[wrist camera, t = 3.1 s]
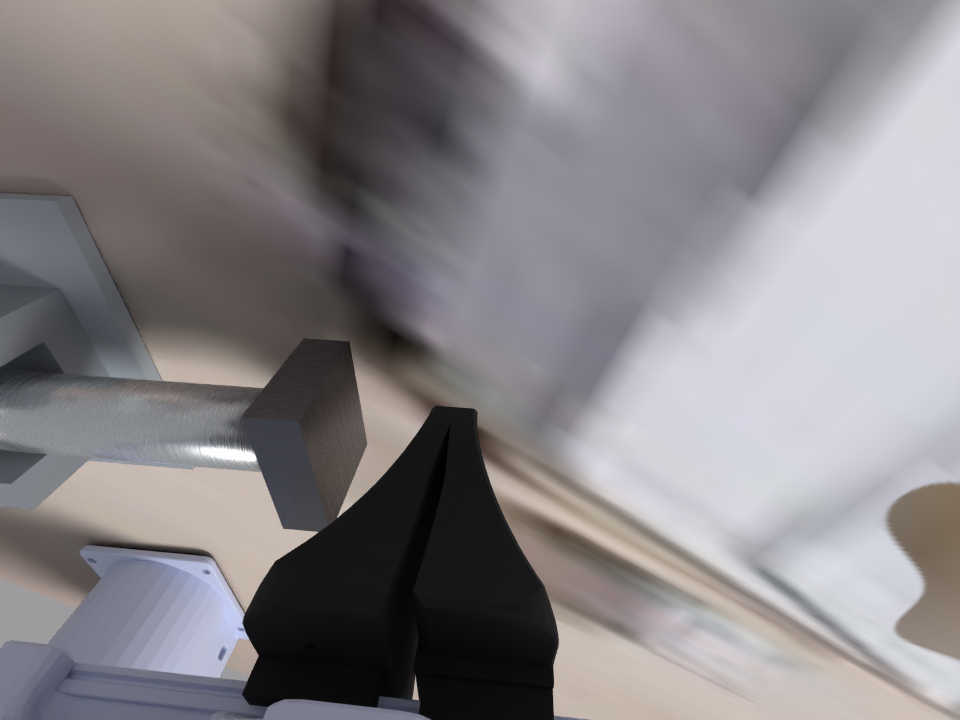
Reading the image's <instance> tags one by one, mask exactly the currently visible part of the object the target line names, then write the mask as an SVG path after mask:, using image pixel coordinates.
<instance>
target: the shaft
mask: <svg viewBox="0 0 960 720" xmlns="http://www.w3.org/2000/svg"><path fill="white" fill-rule="evenodd" d="M366 446H367V440H366V434H365V429H364V423H363V417H362V411H361V406H360V400H359V394H358V388H357V383H356V377H355V371H354V365H353V360H352V354H351V348H350V342H349V341H334V340H319V339H303V340H302V342H301V343H300V344H299V345H298V346H297V348H296V349H295V350H294V351H293V353H292V354H291V355H290V356H289V358H288V359H287V360H286V361H285V363H284V364H283V365H282V366H281V368H280V369H279V370H278V371H277V373H276V374H275V375H274V376H273V378H272V379H271V380H270V381H269V383H268V384H267V385H266V386H265V388H254V387H240V386H226V385H212V384H198V383H184V382H170V381H156V380H142V379H129V378H115V377H101V376H87V375H73V374H59V373H45V372H31V371H17V370H4V369H0V450H5V451H17V452H29V453H41V454H53V455H65V456H77V457H89V458H100V459H112V460H124V461H136V462H148V463H160V464H172V465H184V466H196V467H208V468H220V469H232V470H244V471H256V472H262V474H263V477H264V479H265V482H266V485H267V487H268V490H269V492H270V495H271V498H272V500H273V503H274V505H275V508H276V511H277V513H278V516H279V518H280V521H281V524H282V526H283V529H294V530H305V531H316V532H320V531H321V530H322V529H324V528H325V527H326V526H328V525H329V524H330V523H332V522H333V521H334V520H335V519H336V518H337V516H338V514H339V511H340V509H341V506H342V504H343V501H344V499H345V497H346V494H347V492H348V489H349V487H350V485H351V482H352V480H353V477H354V475H355V472H356V470H357V468H358V465H359V463H360V460H361V458H362V456H363V453H364V451H365V448H366Z"/></svg>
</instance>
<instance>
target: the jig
mask: <svg viewBox="0 0 960 720" xmlns="http://www.w3.org/2000/svg"><path fill="white" fill-rule="evenodd" d="M0 369H4V370H17V371H31V372H45V373H59V374H73V375H87V376H101V377H115V378H129V379H142V380H156V381H162V379H161V377H160V375H159V373H158V371H157V369H156V367H155V365H154V363H153V361H152V359H151V357H150V355H149V353H148V351H147V349H146V347H145V344H144V342H143V340H142V338H141V336H140V334H139V332H138V330H137V328H136V326H135V324H134V322H133V320H132V318H131V316H130V314H129V312H128V310H127V308H126V306H125V304H124V301H123V299H122V297H121V295H120V293H119V291H118V289H117V287H116V285H115V283H114V281H113V279H112V277H111V275H110V273H109V271H108V269H107V267H106V265H105V263H104V260H103V258H102V256H101V254H100V252H99V250H98V248H97V246H96V244H95V242H94V240H93V238H92V236H91V234H90V232H89V230H88V228H87V226H86V224H85V222H84V219H83V217H82V215H81V213H80V211H79V209H78V207H77V205H76V203H75V201H74V199H73V197H72V196H57V195H36V194H14V193H0ZM87 461H98V462H110V463H122V464H134V465H146V466H158V467H170V468H182V469H194V467H195V466H184V465H172V464H160V463H148V462H136V461H124V460H112V459H100V458H89V457H77V456H65V455H53V454H41V453H29V452H17V451H5V450H0V507H9V508H20V509H31V510H34V509H35V508H36V507H37V506H38V505H39V504H40V503H42V502H43V501H44V500H45V499H46V498H47V497H48V496H49V495H50V494H51V493H53V492H54V491H55V490H56V489H57V488H58V487H59V486H60V485H61V484H62V483H64V482H65V481H66V480H67V479H68V478H69V477H70V476H71V475H72V474H73V473H75V472H76V471H77V470H78V469H79V468H80V467H81V466H82V465H83V464H84V463H85V462H87Z"/></svg>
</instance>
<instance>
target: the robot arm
mask: <svg viewBox="0 0 960 720" xmlns="http://www.w3.org/2000/svg"><path fill="white" fill-rule="evenodd" d="M79 553H80V555H81V556H82V557H83V559H84V560H85V561H86V562H87V563H88V564H89V566H90V567H91V568H92V569H93V570H94V571H95V572H96V574H97V575H98V576H99V577H100V578H101V579H100V580H99V582H98V583H97V584H96V585H95V586H94V588H93V589H92V590H91V591H90V593H89V594H88V595H87V596H86V597H85V599H84V600H83V601H82V602H81V604H80V605H79V606H78V607H77V608H76V610H75V611H74V612H73V614H71V616H70V617H69V618H68V619H67V621H66V622H65V623H64V624H63V625H62V627H61V628H60V629H59V630H58V631H57V633H56V634H55V635H54V636H53V638H52V639H51V640H50V641H49V643H48V644H39V643H30V642H21V641H8V642H5V643H4V645H3V646H2V647H1V648H0V720H587V719H578V718H569V717H560V716H554V711H553V687H554V673H553V664H554V660H555V657H556V653H557V649H558V644H559V638H558V631H557V626H556V621H555V618H554V614H553V611H552V608H551V604H550V601H549V599H548V596H547V593H546V590H545V587H544V585H543V583H542V582H541V580H540V579H539V577H538V576H537V574H536V573H535V571H534V570H533V568H532V567H531V565H530V563H529V562H528V560H527V559H526V557H525V555H524V553H523V552H522V550H521V548H520V547H519V545H518V543H517V541H516V539H515V537H514V535H513V533H512V531H511V530H510V528H509V526H508V524H507V522H506V520H505V518H504V515H503V513H502V511H501V509H500V506H499V504H498V502H497V499H496V497H495V494H494V492H493V489H492V486H491V483H490V480H489V477H488V474H487V471H486V468H485V464H484V461H483V457H482V453H481V448H480V444H479V438H478V431H477V411H476V410H475V409H471V408H457V407H444V406H435V407H434V408H433V409H432V411H431V412H430V414H429V416H428V418H427V419H426V421H425V422H424V424H423V425H422V427H421V428H420V430H419V431H418V433H417V434H416V436H415V437H414V438H413V440H412V441H411V442H410V444H409V445H408V446H407V448H406V449H405V450H404V452H403V453H402V454H401V455H400V457H399V458H398V459H397V460H396V461H395V463H394V464H393V465H392V466H391V467H390V468H389V470H388V471H387V472H386V473H385V474H384V475H383V476H382V477H381V478H380V479H379V480H378V482H377V483H376V484H375V485H374V486H373V487H372V488H371V489H370V490H369V491H368V492H367V493H365V494H364V495H363V496H362V497H361V498H360V499H359V500H358V501H357V502H356V503H354V504H353V505H352V506H351V507H350V508H349V509H348V510H347V511H345V512H344V513H343V514H342V515H341V516H339V517H338V518H337V519H335V520H334V521H333V522H332V523H330V524H329V525H328V526H326V527H325V528H324V529H322V530H321V531H320V532H318V533H317V534H316V535H315V536H313V537H312V538H310V539H309V540H307V541H306V542H304V543H303V544H301V545H300V546H298V547H297V548H295V549H294V550H292V551H291V552H289V553H288V554H286V555H285V556H283V557H281V558H280V559H278V560H277V561H275V563H274V564H273V566H272V567H271V569H270V570H269V572H268V573H267V575H266V576H265V578H264V579H263V581H262V582H261V584H260V586H259V588H258V590H257V592H256V593H255V595H254V597H253V599H252V601H251V603H250V605H249V607H248V609H247V611H246V613H245V614H244V612H243V610H242V609H241V607H240V605H239V603H238V602H237V600H236V598H235V596H234V595H233V593H232V591H231V589H230V588H229V586H228V584H227V582H226V581H225V579H224V577H223V575H222V574H221V572H220V570H219V568H218V567H217V565H216V563H215V561H214V560H213V559H211V558H209V557H206V556H197V555H187V554H177V553H166V552H156V551H145V550H135V549H125V548H114V547H104V546H93V545H86V546H84V547H83V548H82V549H81V550H80V552H79ZM238 639H249V640H250V641H251V643H252V645H253V646H254V648H255V650H256V651H257V653H258V655H259V657H258V659H257V661H256V663H255V665H254V668H253V670H252V672H251V674H250V677H249V679H248V681H240V680H231V679H222V678H219V677H220V675H221V673H222V671H223V669H224V667H225V665H226V663H227V661H228V659H229V657H230V655H231V653H232V651H233V649H234V647H235V645H236V643H237V641H238ZM415 675H416V681H417V688H418V696H419V701H418V700H412V698H413V690H414V682H415Z"/></svg>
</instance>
